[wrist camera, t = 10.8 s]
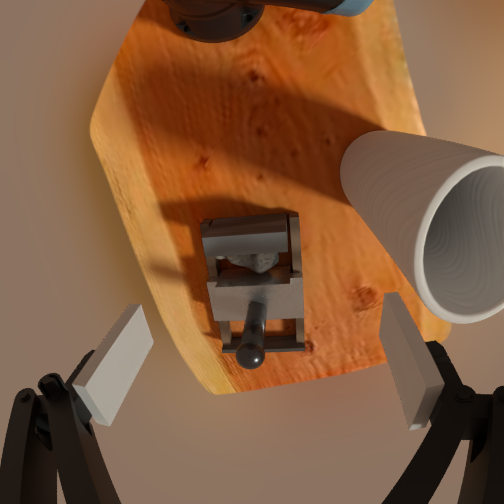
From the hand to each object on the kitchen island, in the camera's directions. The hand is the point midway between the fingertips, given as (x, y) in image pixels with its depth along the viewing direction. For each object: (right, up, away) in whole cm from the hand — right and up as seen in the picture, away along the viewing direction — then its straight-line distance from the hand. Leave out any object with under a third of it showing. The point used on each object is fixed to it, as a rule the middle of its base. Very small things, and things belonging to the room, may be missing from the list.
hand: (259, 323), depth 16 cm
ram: (+1, -3, +41) cm, 41 cm away
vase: (+20, +17, +31) cm, 41 cm away
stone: (-1, +4, +39) cm, 39 cm away
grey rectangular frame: (+1, -2, +41) cm, 41 cm away
